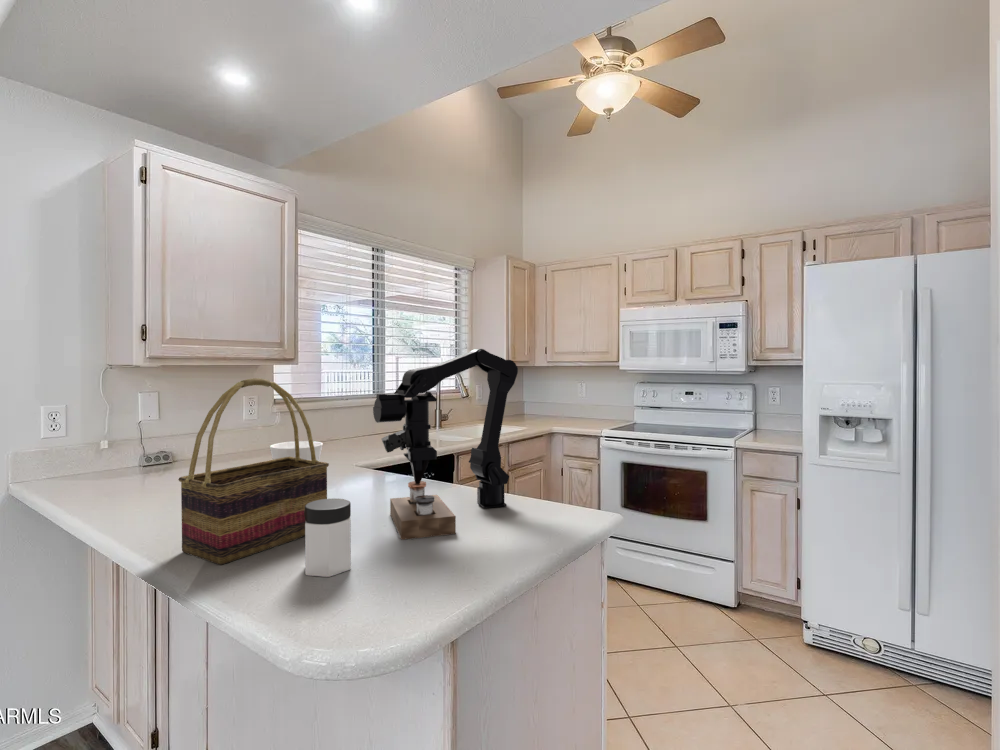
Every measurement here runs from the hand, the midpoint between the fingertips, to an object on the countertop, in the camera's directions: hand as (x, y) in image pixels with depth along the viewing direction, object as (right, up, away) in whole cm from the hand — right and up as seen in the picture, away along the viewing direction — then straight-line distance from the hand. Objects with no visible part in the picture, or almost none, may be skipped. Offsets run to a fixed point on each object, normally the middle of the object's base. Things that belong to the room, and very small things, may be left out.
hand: (417, 483), depth 125 cm
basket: (-32, -9, -16) cm, 36 cm away
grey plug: (+3, -8, -9) cm, 13 cm away
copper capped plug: (0, -7, 0) cm, 7 cm away
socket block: (+2, -9, -5) cm, 10 cm away
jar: (-12, -9, -31) cm, 35 cm away
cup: (-36, -9, +15) cm, 40 cm away
